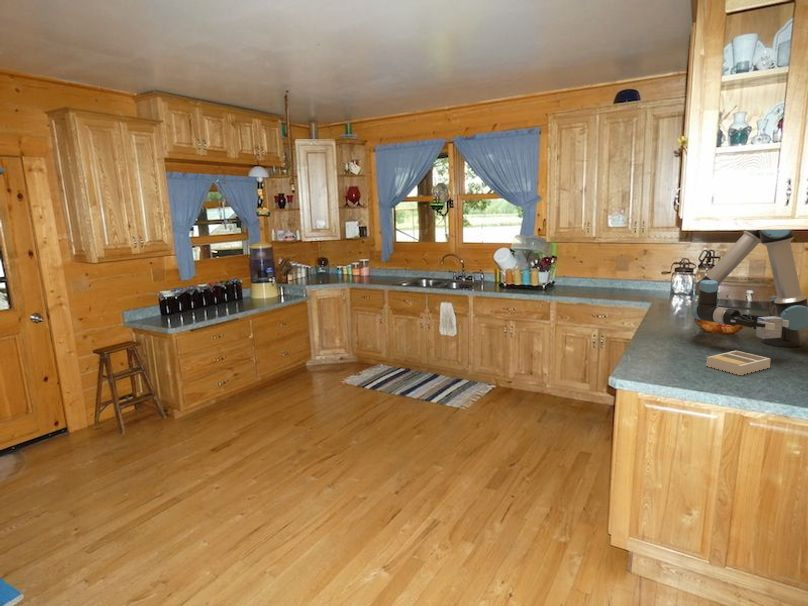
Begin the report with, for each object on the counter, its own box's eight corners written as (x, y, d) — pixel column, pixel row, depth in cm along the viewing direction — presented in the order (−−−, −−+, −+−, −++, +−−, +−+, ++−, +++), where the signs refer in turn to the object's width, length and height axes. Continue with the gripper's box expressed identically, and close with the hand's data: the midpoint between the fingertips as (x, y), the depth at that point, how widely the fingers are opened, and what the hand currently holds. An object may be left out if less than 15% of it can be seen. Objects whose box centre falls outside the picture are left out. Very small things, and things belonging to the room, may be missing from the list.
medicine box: (773, 335, 213) (774, 316, 211) (781, 338, 208) (783, 318, 207) (755, 336, 213) (757, 317, 211) (763, 339, 208) (764, 319, 207)
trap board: (735, 359, 215) (736, 349, 214) (769, 367, 202) (770, 357, 201) (706, 366, 207) (706, 356, 206) (740, 375, 194) (741, 365, 194)
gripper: (741, 321, 230) (795, 330, 210) (711, 327, 222) (764, 338, 202) (742, 305, 229) (797, 313, 209) (712, 311, 221) (766, 320, 200)
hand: (781, 325), depth 205 cm, fingers closed on medicine box, 9 cm apart
